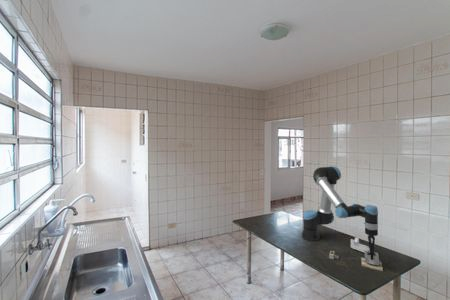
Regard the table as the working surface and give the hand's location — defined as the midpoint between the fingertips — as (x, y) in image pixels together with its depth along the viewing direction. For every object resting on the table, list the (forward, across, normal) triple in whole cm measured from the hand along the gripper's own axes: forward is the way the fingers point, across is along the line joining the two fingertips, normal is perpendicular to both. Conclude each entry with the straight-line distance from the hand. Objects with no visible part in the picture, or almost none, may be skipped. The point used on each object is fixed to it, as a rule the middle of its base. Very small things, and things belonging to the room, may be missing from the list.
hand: (371, 260), depth 163 cm
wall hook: (+3, 0, -22) cm, 22 cm away
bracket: (+3, -21, -6) cm, 22 cm away
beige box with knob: (+3, 0, -25) cm, 25 cm away
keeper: (+3, 0, 0) cm, 3 cm away
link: (0, 0, 0) cm, 0 cm away
